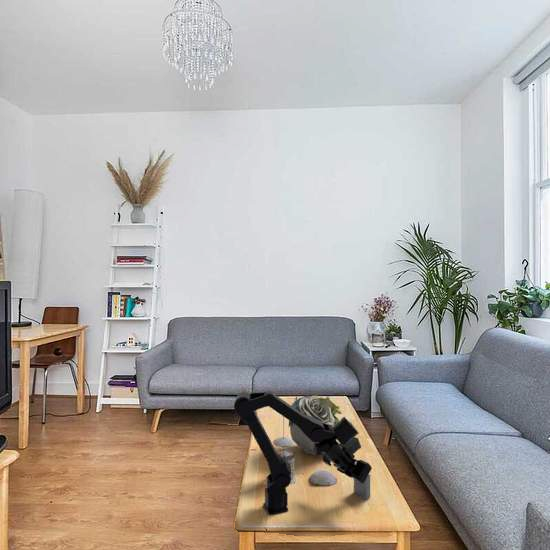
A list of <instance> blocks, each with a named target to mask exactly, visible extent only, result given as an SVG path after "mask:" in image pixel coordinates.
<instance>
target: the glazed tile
mask: <svg viewBox="0 0 550 550" xmlns="http://www.w3.org/2000/svg"><path fill="white" fill-rule="evenodd" d="M353 493H354V494H356V495H357V494H358V495H357V496H359V497H361V498H362V499H364V498H365V499H364V500H366V501H368V500H370V499H369V498H371V474H370V473H369V474H368V476H367V478H366V480H365V482H364V483H360V482H358V481H356V480H355V479H353Z"/></svg>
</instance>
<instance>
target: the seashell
mask: <svg viewBox="0 0 550 550" xmlns="http://www.w3.org/2000/svg"><path fill="white" fill-rule="evenodd" d="M308 480H309V481H310V482H312V484H314V485H319V486H324V487H330V486H334V485H336V484H337V483H338V479H337V477H336V476H335V475H334V474H333V473H332V472H330V471H329V470H326V469H322V468H321V469H317V470H315V471H314V472H312V473H311V474H310V475H309V479H308ZM333 484H334V485H333ZM328 485H329V486H328Z"/></svg>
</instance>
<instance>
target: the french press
mask: <svg viewBox="0 0 550 550" xmlns="http://www.w3.org/2000/svg"><path fill="white" fill-rule="evenodd" d="M282 418H283V421H282V423H283V427H282V428H283V430H282V431H283V434H282V436H281V437H277V438H275V439H273V441H272V444H273V446H275V447H278V448H283V449H277V450H276V449H275V450H276V452H277V454H278V455H279V456H280V457H283V456H284V455H285V457H286V460H287V462H288V463H289V464H290V467H291V482H290V484H291V485H293V484H295V483H296V482H297V480H296V479H297V477H296V476H295V462H294V461H295V456H294V453H293V451H292V450H289V449H287V448H289V447H292V446H293V445H294V444H295V442H294V441H293V440H292V438H290V437H287V436H285V417H284V416H282ZM285 448H286V449H285ZM295 481H296V482H295ZM294 482H295V483H294ZM292 483H293V484H292Z"/></svg>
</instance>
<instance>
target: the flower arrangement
mask: <svg viewBox="0 0 550 550" xmlns="http://www.w3.org/2000/svg"><path fill="white" fill-rule="evenodd" d="M291 406H292V407H294V408H295V409H297V410H298V411H300V412H301V413H303V414H305V415H308V416H311V417H314V418H316V419H318V420H320V421H321V422H322V423H325V424H329V425H332V427H334V426H335V425H336V424H337V423H338V422H339V421H340V419H339V418H338V417H337V416H336V414H338V415H341V414H342V411H341V410H340V406H338V405H336V404H335V402H333V401H332V400H331V399H330V397H329V396H326V397H323V396H318V395H314V394H310V395H309V394H308V395H305V396H302V397H299V398H298V396H295V398H294V401H293V402H292V404H291ZM288 429H289V431H290V432H289V433H290V437H291V439H292V440H293V441H294V444H296V445H297V446H298V447H300V448H302V449H303V451H304V453H306V454H308V455H313V456H317V455H316V453H315V451H314V450H313V447H314V444H316V443H315V442H313V441H311V440H310V439H309V438H308V437H307V436H306V435H305V434H304V433H303V432H302V430H301V429H300V428H299V427H298V426H297V425H295V424H294V423H292V422H291V421H289V420H288ZM336 441H338V440H337V439H336ZM317 443H318V442H317ZM321 454H324V453H323V452H322V453H321ZM321 454H320V455H321Z"/></svg>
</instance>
